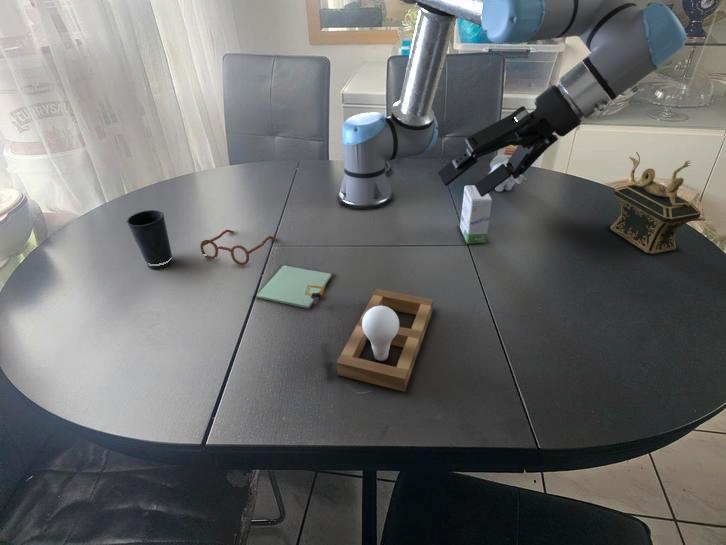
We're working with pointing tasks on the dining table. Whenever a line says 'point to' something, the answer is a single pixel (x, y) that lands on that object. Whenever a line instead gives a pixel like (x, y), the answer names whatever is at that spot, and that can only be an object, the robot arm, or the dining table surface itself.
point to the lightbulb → (380, 329)
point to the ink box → (475, 215)
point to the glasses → (231, 248)
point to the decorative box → (652, 211)
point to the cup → (151, 237)
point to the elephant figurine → (510, 181)
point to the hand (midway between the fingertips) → (461, 185)
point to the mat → (293, 286)
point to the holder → (404, 338)
